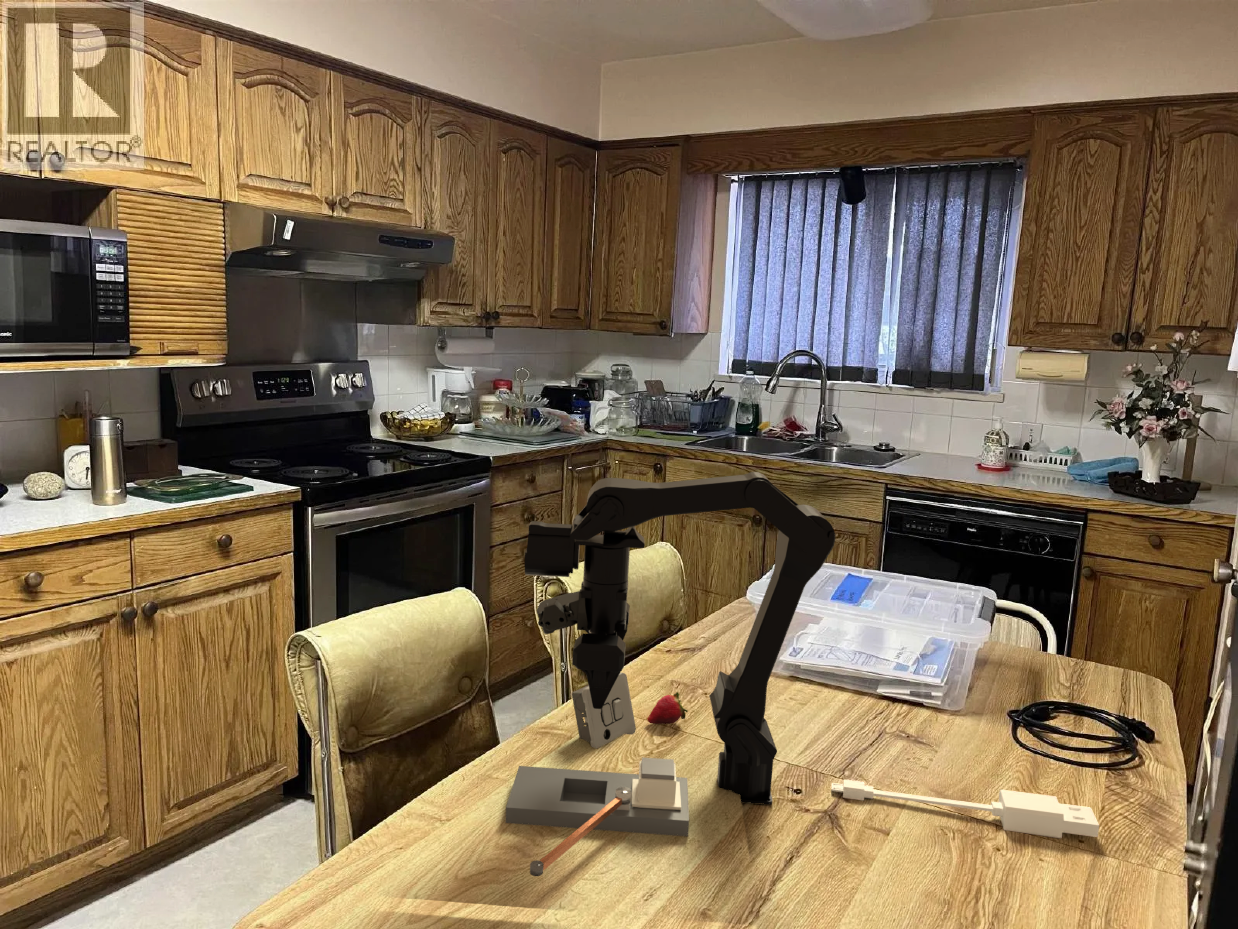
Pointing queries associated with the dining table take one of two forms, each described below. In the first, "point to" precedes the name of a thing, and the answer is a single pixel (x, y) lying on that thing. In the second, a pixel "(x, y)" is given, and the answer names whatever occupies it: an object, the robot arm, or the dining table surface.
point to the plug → (656, 785)
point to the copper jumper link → (581, 831)
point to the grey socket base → (587, 802)
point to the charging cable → (1003, 810)
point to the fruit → (667, 710)
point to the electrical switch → (605, 714)
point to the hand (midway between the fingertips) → (599, 693)
